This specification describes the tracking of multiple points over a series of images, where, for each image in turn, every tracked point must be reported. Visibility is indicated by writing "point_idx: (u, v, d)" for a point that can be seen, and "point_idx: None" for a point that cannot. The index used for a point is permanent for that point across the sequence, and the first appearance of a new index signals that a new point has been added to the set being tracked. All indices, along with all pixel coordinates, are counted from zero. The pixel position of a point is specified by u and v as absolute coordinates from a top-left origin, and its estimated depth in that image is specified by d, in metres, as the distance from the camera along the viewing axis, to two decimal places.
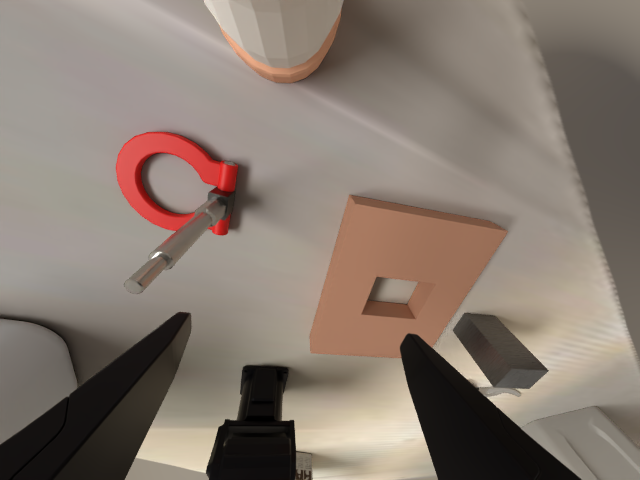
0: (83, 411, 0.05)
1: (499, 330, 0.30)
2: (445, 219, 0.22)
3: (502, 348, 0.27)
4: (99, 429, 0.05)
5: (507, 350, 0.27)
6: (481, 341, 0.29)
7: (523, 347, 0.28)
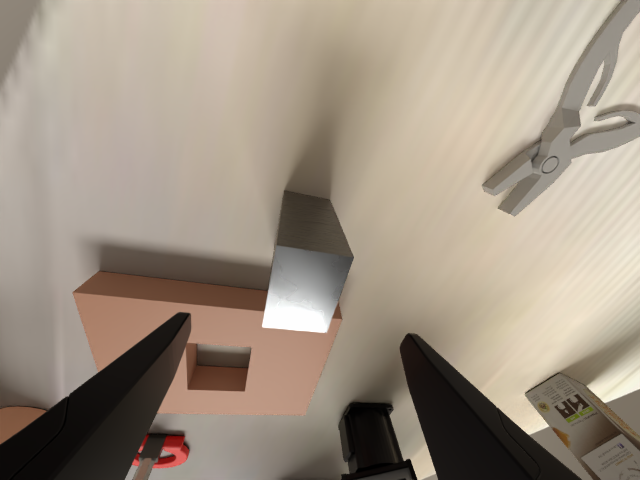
0: (83, 411, 0.05)
1: None
2: None
3: None
4: (99, 429, 0.05)
5: (270, 274, 0.13)
6: None
7: None
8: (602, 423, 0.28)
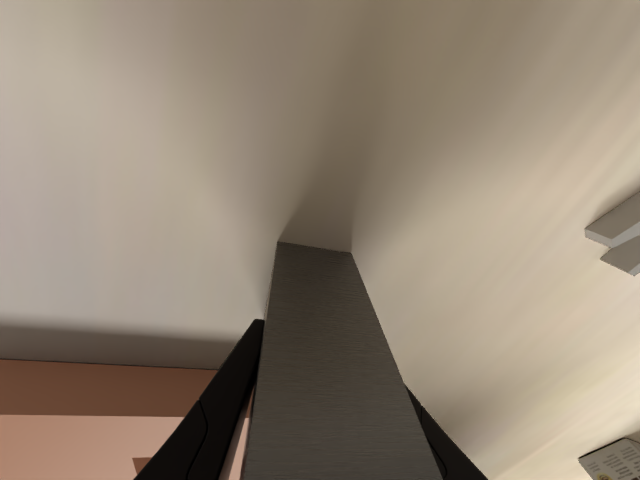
0: (217, 413, 0.05)
1: (266, 310, 0.09)
2: None
3: (247, 431, 0.07)
4: None
5: (247, 431, 0.07)
6: None
7: (261, 349, 0.06)
8: None
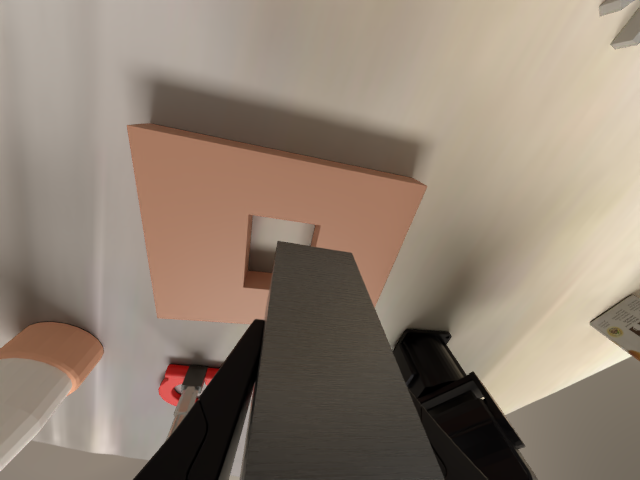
0: (217, 413, 0.05)
1: (266, 310, 0.09)
2: None
3: (247, 430, 0.07)
4: None
5: (247, 431, 0.07)
6: None
7: (262, 348, 0.06)
8: None
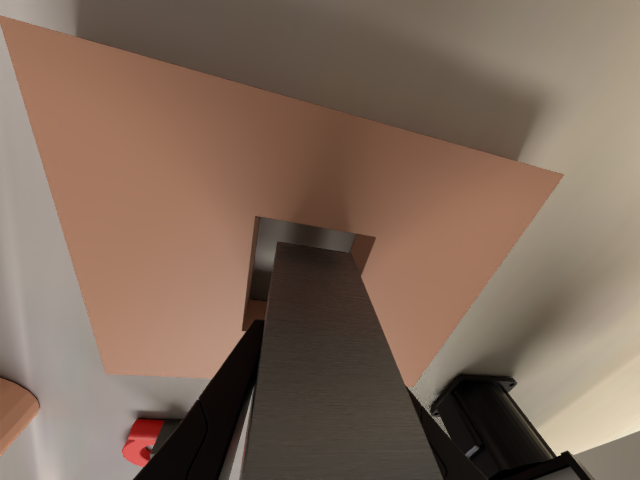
0: (217, 413, 0.05)
1: (266, 310, 0.09)
2: None
3: (247, 431, 0.07)
4: None
5: (247, 432, 0.07)
6: None
7: (261, 349, 0.06)
8: None
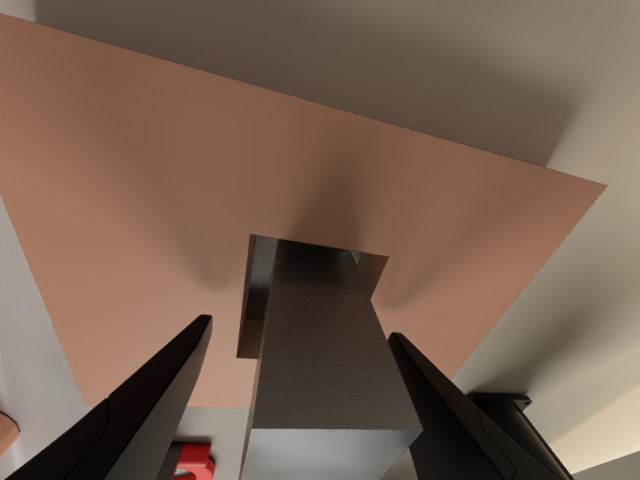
0: (124, 412, 0.05)
1: (269, 292, 0.10)
2: None
3: (252, 396, 0.08)
4: (140, 429, 0.05)
5: (252, 395, 0.08)
6: None
7: (266, 318, 0.07)
8: None
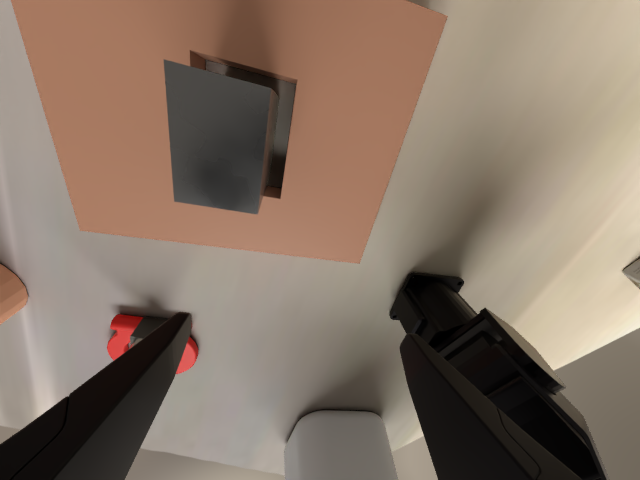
0: (83, 411, 0.05)
1: None
2: None
3: None
4: (99, 429, 0.05)
5: None
6: None
7: None
8: None
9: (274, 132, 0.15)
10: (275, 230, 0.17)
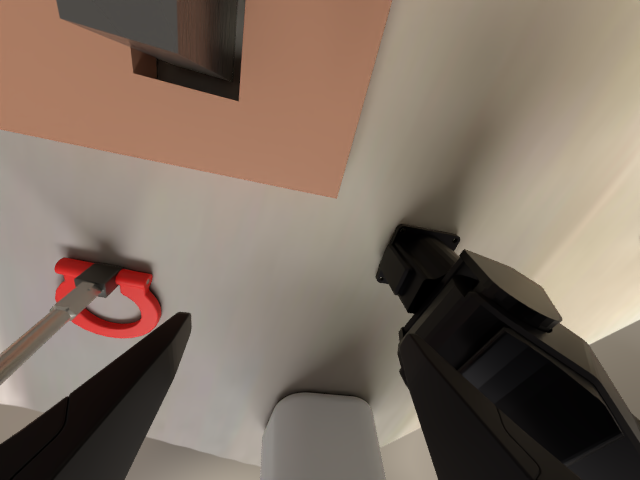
0: (83, 411, 0.05)
1: None
2: None
3: None
4: (99, 429, 0.05)
5: None
6: (155, 55, 0.11)
7: None
8: None
9: (231, 17, 0.13)
10: (235, 145, 0.15)
